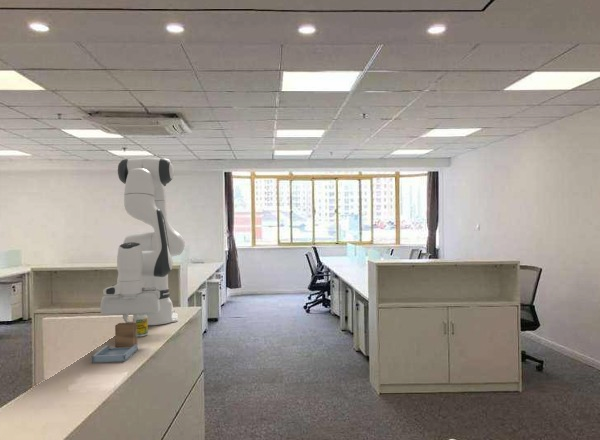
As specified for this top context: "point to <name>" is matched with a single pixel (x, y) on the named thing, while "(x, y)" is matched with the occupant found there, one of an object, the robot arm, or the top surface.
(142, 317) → the supplement bottle
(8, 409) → the top surface
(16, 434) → the top surface
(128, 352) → the tray
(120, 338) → the wooden block
